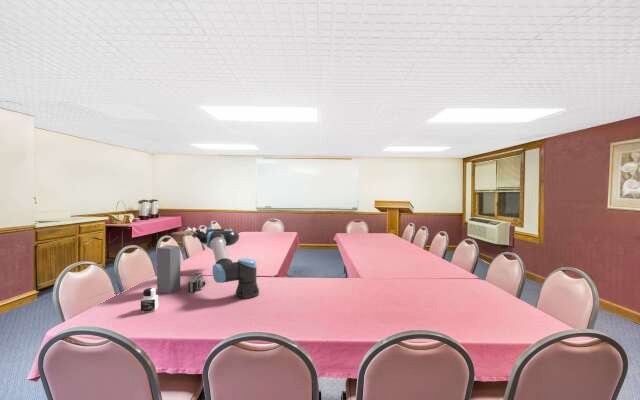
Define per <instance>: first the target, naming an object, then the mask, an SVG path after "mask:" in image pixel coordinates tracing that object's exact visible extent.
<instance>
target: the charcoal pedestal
mask: <svg viewBox="0 0 640 400" xmlns="http://www.w3.org/2000/svg"><path fill="white" fill-rule="evenodd" d="M156 284H157V285H156V287H157V288H156V292H157V293H158V294H168V295H169V294H172V293H174V292H177V291H178V290H181V246H180V245H170V244H169V245H167V244H166V245H163V246H160V247H156ZM157 293H156V294H157Z"/></svg>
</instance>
